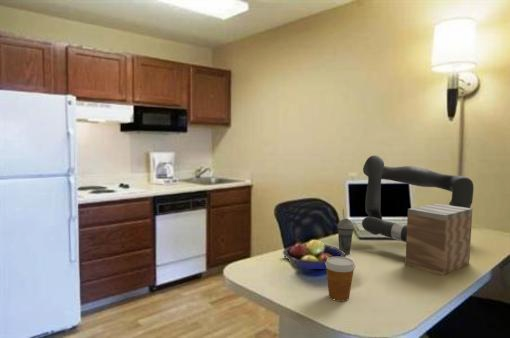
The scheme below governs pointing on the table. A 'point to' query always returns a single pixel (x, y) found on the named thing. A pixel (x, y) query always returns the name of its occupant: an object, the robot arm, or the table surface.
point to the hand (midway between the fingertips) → (443, 242)
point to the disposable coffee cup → (339, 277)
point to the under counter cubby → (438, 237)
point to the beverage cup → (345, 235)
